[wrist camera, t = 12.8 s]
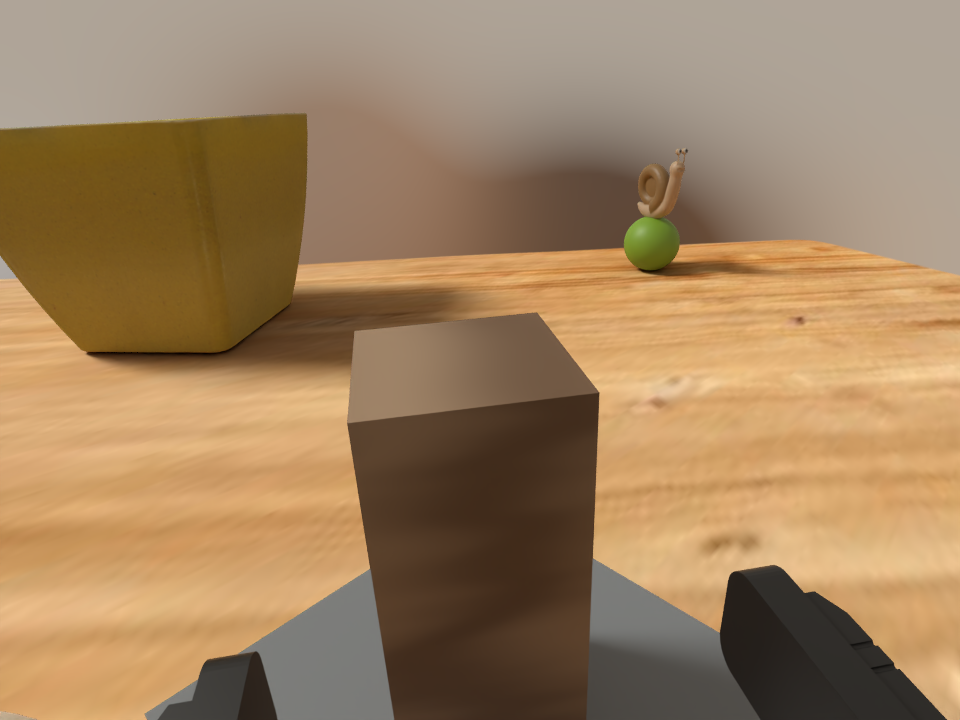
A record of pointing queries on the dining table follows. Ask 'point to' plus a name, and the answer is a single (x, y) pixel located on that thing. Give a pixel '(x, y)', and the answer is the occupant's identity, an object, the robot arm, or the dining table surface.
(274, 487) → the dining table surface
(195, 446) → the dining table surface
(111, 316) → the flower pot
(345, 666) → the plate
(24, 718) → the steamed bun
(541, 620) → the walnut block
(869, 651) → the robot arm
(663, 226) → the snail figurine
